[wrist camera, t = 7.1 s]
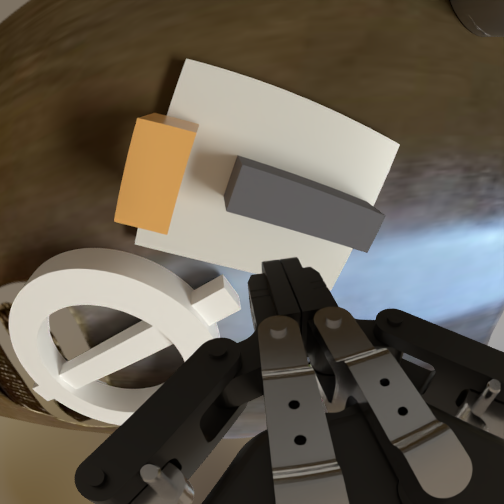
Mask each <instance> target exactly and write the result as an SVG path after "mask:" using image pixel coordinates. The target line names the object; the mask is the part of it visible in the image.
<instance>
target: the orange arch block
mask: <svg viewBox="0 0 504 504" xmlns="http://www.w3.org/2000/svg"><path fill="white" fill-rule="evenodd" d="M198 127H199V124H196V123H193V122H189V121H185V120H181V119H178V118H174V117H170V116H166V115H162V114H158V113H152V114H149V115H146V116H142V117H139V118H137V121H136V125H135V128H134V132H133V136H132V140H131V144H130V148H129V152H128V156H127V160H126V164H125V169H124V173H123V178H122V182H121V187H120V192H119V197H118V202H117V208H116V213H115V219H114V222H118V223H122V224H126V225H130V226H134V227H137V228H141V229H145V230H149V231H153V232H157V233H161V234H165V235H167V234H168V230H169V226H170V222H171V219H172V215H173V211H174V207H175V204H176V200H177V196H178V193H179V189H180V186H181V182H182V179H183V175H184V172H185V169H186V165H187V162H188V159H189V155H190V152H191V149H192V146H193V143H194V140H195V136H196V133H197V130H198Z"/></svg>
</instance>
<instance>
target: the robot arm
mask: <svg viewBox="0 0 504 504" xmlns="http://www.w3.org/2000/svg"><path fill="white" fill-rule="evenodd" d="M450 2H451V4H452V7H453V9H454V11H455V13H456V14H457V16H458V18H459V19H460V21H461V22H462V23H463V24H464V25H465V27H466V28H467V29H468V30H470V31H471V32H472V33H474V34H476V35H478V36H481V37H504V0H450ZM261 265H262V274H255V275H251V277H250V279H249V281H248V290H249V300H250V310H251V316H252V320H253V325H254V330H255V332H254V333H253V334H252V335H251V336H250V337H249V338H247V339H246V340H244V341H241V342H239V343H236V342H234V341H233V340H231V339H228V338H214V339H211V340H208V341H206V342H205V343H203V344H202V345H201V346H200V347H199V348H198V349H197V350H196V351H195V352H194V353H193V354H192V355H191V356H190V357H189V358H188V359H187V360H186V361H185V362H184V363H183V364H182V365H181V366H180V367H179V368H178V369H177V370H176V371H175V372H174V374H173V375H172V376H171V377H170V378H169V379H168V380H167V381H166V382H165V383H164V384H163V385H162V386H161V387H160V388H159V389H158V390H157V391H156V392H155V393H153V394H152V395H151V396H150V397H149V398H148V399H147V400H146V401H145V402H144V403H143V404H142V405H141V406H140V407H139V408H138V409H137V410H136V411H135V412H134V413H133V414H132V415H131V416H130V417H129V418H128V419H127V420H126V421H125V422H124V423H123V424H122V425H121V426H120V427H119V428H118V429H117V430H116V431H115V432H114V433H113V434H112V435H111V436H109V437H108V438H107V439H106V440H105V441H104V442H103V443H102V444H101V445H100V446H99V447H98V448H97V449H96V450H95V451H94V452H93V453H92V454H91V455H90V456H88V457H87V458H86V459H85V460H84V461H83V462H82V463H81V464H80V465H79V467H78V468H77V470H76V474H75V484H76V487H77V489H78V491H79V492H80V493H81V495H82V496H84V497H85V498H87V499H88V500H90V501H91V502H93V503H95V504H191V503H192V501H193V498H194V490H193V487H192V485H191V484H190V482H189V481H188V479H189V478H190V477H191V476H192V475H193V473H194V472H195V471H196V470H197V469H198V468H199V466H200V465H201V464H202V463H203V461H204V460H205V459H206V458H207V457H208V455H209V454H210V453H211V452H212V450H213V449H214V448H215V447H216V445H217V444H218V443H219V442H220V440H221V439H222V438H223V437H224V435H225V434H226V433H227V431H228V430H229V429H230V428H231V426H232V425H233V424H234V422H235V421H236V420H237V418H238V417H239V416H240V414H241V413H242V412H243V410H244V409H245V408H246V406H247V403H248V402H249V401H251V400H253V399H255V398H258V397H260V396H262V395H264V405H265V414H266V425H267V430H265V431H263V432H261V433H259V434H258V435H256V436H255V437H253V438H252V439H251V440H250V441H249V442H247V443H246V444H245V445H244V446H243V448H242V449H241V450H240V451H239V453H238V454H237V455H236V457H235V458H234V460H233V461H232V463H231V464H230V465H229V467H228V468H227V470H226V471H225V472H224V474H223V475H222V477H221V478H220V480H219V481H218V482H217V484H216V485H215V486H214V488H213V489H212V490H211V492H210V493H209V494H208V496H207V497H206V499H205V500H204V501H203V502H202V504H504V352H502V351H499V350H496V349H494V348H492V347H489V346H487V345H485V344H482V343H480V342H477V341H475V340H472V339H470V338H467V337H465V336H463V335H460V334H458V333H455V332H453V331H450V330H448V329H445V328H443V327H441V326H438V325H436V324H433V323H431V322H428V321H426V320H423V319H421V318H419V317H416V316H414V315H411V314H409V313H406V312H404V311H401V310H398V309H385V310H383V311H381V312H379V313H378V314H377V316H376V320H359V319H354V318H353V316H352V315H351V314H350V313H349V312H348V311H347V310H345V309H343V308H340V307H338V305H337V303H336V301H335V300H334V298H333V296H332V294H331V292H330V291H329V289H328V287H327V285H326V284H325V282H324V281H323V278H322V277H321V275H320V273H319V272H318V271H316V270H315V269H313V268H312V267H305V268H303V267H302V265H301V263H300V261H299V259H298V258H297V257H293V258H285V259H280V260H279V259H278V260H271V261H263V262H262V264H261ZM403 353H406V354H408V355H411V356H413V357H415V358H417V359H420V360H422V361H424V362H426V363H429V364H431V365H432V366H433V367H434V369H435V370H434V371H430V370H427V369H425V368H422V367H420V366H418V365H416V364H413V363H411V362H409V361H407V360H405V359H402V356H403ZM307 357H309V359H310V362H311V363H310V367H309V365H308V361H307ZM321 398H322V399H321ZM322 400H323V402H324V404H325V406H326V409H327V412H328V413H325V411H324V407H323V403H322Z"/></svg>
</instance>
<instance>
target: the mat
mask: <svg viewBox="0 0 504 504" xmlns="http://www.w3.org/2000/svg"><path fill="white" fill-rule="evenodd" d="M167 116H170V117H174V118H178V119H181V120H185V121H189V122H193V123H196V124H199V127H198V130H197V133H196V136H195V140H194V143H193V146H192V149H191V152H190V155H189V159H188V162H187V165H186V169H185V172H184V175H183V179H182V182H181V186H180V189H179V193H178V196H177V200H176V204H175V207H174V211H173V215H172V219H171V222H170V226H169V230H168V234H167V235H165V234H161V233H157V232H153V231H149V230H145V229H141V228H138V230H137V235H136V240H135V244H136V245H140V246H144V247H148V248H152V249H156V250H160V251H164V252H168V253H172V254H176V255H180V256H184V257H188V258H193V259H197V260H201V261H205V262H209V263H213V264H218V265H222V266H226V267H230V268H234V269H239V270H243V271H247V272H251V273H256V274H262V265H261V264H262V262H263V261H271V260H278V259H279V260H280V259H285V258H293V257H297V258H298V259H299V261H300V263H301V265H302V267H303V268H305V267H312V268H313V269H315V270H316V271H318V272H319V273H320V275H321V277H322V278H323V281H324V282H325V284H326V285H327V287H328V289H329V290H331V289H332V288H333V286H334V284H335V282H336V280H337V278H338V276H339V274H340V273H341V271H342V269H343V267H344V265H345V263H346V261H347V259H348V257H349V255H350V253H351V251H352V249H353V248H350V247H347V246H344V245H340V244H337V243H334V242H331V241H327V240H324V239H321V238H317V237H314V236H311V235H307V234H304V233H300V232H297V231H294V230H290V229H287V228H283V227H280V226H276V225H273V224H269V223H266V222H262V221H259V220H255V219H252V218H248V217H245V216H241V215H237V214H234V213H230V212H227V211H226V208H225V202H224V197H223V196H224V193H225V190H226V187H227V184H228V181H229V178H230V175H231V173H232V170H233V167H234V164H235V161H236V158H237V155H238V156H242V157H245V158H248V159H251V160H254V161H257V162H260V163H263V164H267V165H270V166H273V167H276V168H278V169H281V170H284V171H287V172H290V173H293V174H296V175H299V176H301V177H304V178H307V179H310V180H313V181H315V182H318V183H321V184H323V185H326V186H329V187H331V188H334V189H337V190H339V191H342V192H344V193H347V194H349V195H352V196H354V197H357V198H359V199H362V200H364V201H367V202H368V203H369V204H371V205H372V206H373V205H374V203H375V201H376V199H377V197H378V194H379V192H380V190H381V188H382V186H383V183H384V181H385V179H386V176H387V174H388V172H389V169H390V167H391V165H392V162H393V160H394V158H395V155H396V153H397V150H398V148H399V145H400V144H398V143H396V142H394V141H392V140H391V139H389V138H387V137H385V136H383V135H382V134H380V133H378V132H376V131H374V130H372V129H370V128H368V127H366V126H364V125H362V124H360V123H358V122H356V121H354V120H352V119H350V118H348V117H346V116H344V115H342V114H340V113H338V112H336V111H333V110H331V109H329V108H327V107H325V106H322V105H320V104H318V103H315V102H313V101H311V100H308V99H306V98H304V97H301V96H299V95H296V94H294V93H291V92H289V91H286V90H284V89H281V88H278V87H276V86H273V85H270V84H268V83H265V82H262V81H259V80H256V79H253V78H250V77H247V76H244V75H241V74H238V73H235V72H232V71H229V70H226V69H222V68H219V67H215V66H212V65H208V64H205V63H201V62H197V61H194V60H190V59H186V61H185V64H184V66H183V69H182V72H181V75H180V77H179V80H178V83H177V86H176V89H175V92H174V95H173V98H172V101H171V104H170V107H169V110H168V113H167Z"/></svg>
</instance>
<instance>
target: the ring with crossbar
mask: <svg viewBox="0 0 504 504" xmlns="http://www.w3.org/2000/svg"><path fill="white" fill-rule="evenodd" d="M74 305H97V306H104V307H109V308H113V309H117V310H120V311H123V312H126V313H128V314H131V315H133V316H135V317H137V318H139V319H142V321H140V322H138V323H137V324H135V325H133V326H131V327H129V328H128V329H126V330H124V331H122V332H120V333H119V334H117V335H115V336H113V337H111V338H110V339H108V340H106V341H104V342H102V343H100V344H99V345H97V346H95V347H93V348H91V349H90V350H88V351H86V352H84V353H82V354H80V355H79V356H77V357H75V358H73V359H71V360H70V361H69V360H68V359H67V358H66V359H67V361H68V362H67V361H66V360H65V359H64V357H63V356H62V355H61V354H60V352H59V351H58V349H57V348H56V346H55V344H54V342H53V340H52V338H51V335H50V331H51V330H50V331H49V329H50V325H49V315H50V314H51V313H53V312H55V311H56V310H59V309H61V308H64V307H68V306H74ZM239 310H241V306H240V300H239V295H238V294H237V292H236V291H235V290H234V288H233V287H232V286H231V284H230V283H229V282H228V281H227V279H226V278H225V277H224V275H223V274H222V275H220V276H219V277H217V278H215V279H213V280H211V281H210V282H208V283H206V284H204V285H202V286H201V287H199V288H197V289H195V290H194V289H193V288H192V287H191V286H189V285H188V284H187V283H186V282H185V281H184V280H182V279H181V278H180V277H178V276H177V275H175V274H174V273H173V272H171V271H169V270H168V269H166V268H164V267H163V266H161V265H159V264H157V263H155V262H153V261H151V260H148V259H146V258H143V257H141V256H138V255H135V254H131V253H128V252H124V251H119V250H114V249H106V248H82V249H75V250H71V251H67V252H64V253H61V254H58V255H56V256H54V257H52V258H50V259H49V260H47V261H46V262H44V263H43V264H42V265H40V266H39V267H38V268H37V269H36V271H35V272H34V273H33V274H32V276H31V277H30V278H29V280H28V281H27V282H26V284H25V285H24V286H23V288H22V289H21V290H20V292H19V293H18V295H17V296H16V298H15V300H14V302H13V304H12V307H11V310H10V315H9V333H10V338H11V342H12V345H13V348H14V351H15V353H16V355H17V357H18V359H19V361H20V362H21V364H22V366H23V367H24V368H25V370H26V371H27V372H28V374H29V375H30V377H32V379H33V380H34V381H35V383H34V386H33V390H34V391H35V392H37V393H38V394H39V395H40V396H42V397H43V398H44V399H46V400H47V401H49V400H52V399H56V400H57V401H59V402H60V403H62V404H63V405H65V406H67V407H69V408H70V409H72V410H74V411H76V412H78V413H81V414H83V415H85V416H88V417H90V418H93V419H96V420H99V421H103V422H107V423H111V424H116V425H122V424H123V423H124V422H125V421H126V420H127V419H128V418H129V417H130V416H131V415H132V414H133V413H134V412H135V411H136V410H137V409H138V408H139V407H140V406H141V405H142V404H143V403H144V402H145V401H146V400H147V399H148V398H149V397H150V396H151V395H152V394H153V393H155V392H156V391H157V390H158V389H159V388H160V387H161V386H162V385H163V384H164V383H162V384H160V385H157V386H154V387H149V388H143V389H125V388H118V387H113V386H109V385H107V383H105V382H102V381H99V380H98V379H100V378H102V377H104V376H106V375H109V374H111V373H113V372H115V371H117V370H119V369H122V368H124V367H126V366H128V365H130V364H132V363H134V362H137V361H139V360H141V359H143V358H145V357H147V356H149V355H151V354H153V353H155V352H157V351H160V350H162V349H164V348H166V347H168V346H170V345H172V344H174V345H175V346H176V348H177V349H178V350H179V352H180V353H181V355H182V357H183V359H184V362H185V361H186V360H187V359H188V358H189V357H190V356H191V355H192V354H193V353H194V352H195V351H196V350H197V349H198V348H199V347H200V346H201V345H202V344H203V343H205V342H206V341H208V340H211V339H214V338H220V334H219V330H218V326H217V323H216V322H218V321H220V320H221V319H223V318H225V317H227V316H229V315H231V314H233V313H235V312H237V311H239Z"/></svg>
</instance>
